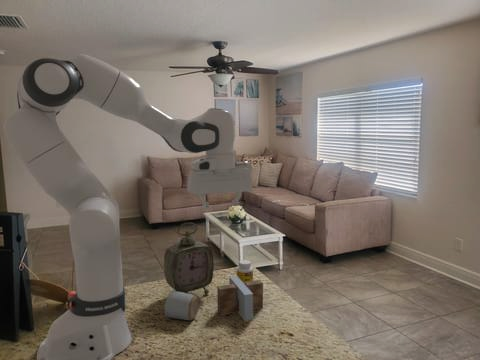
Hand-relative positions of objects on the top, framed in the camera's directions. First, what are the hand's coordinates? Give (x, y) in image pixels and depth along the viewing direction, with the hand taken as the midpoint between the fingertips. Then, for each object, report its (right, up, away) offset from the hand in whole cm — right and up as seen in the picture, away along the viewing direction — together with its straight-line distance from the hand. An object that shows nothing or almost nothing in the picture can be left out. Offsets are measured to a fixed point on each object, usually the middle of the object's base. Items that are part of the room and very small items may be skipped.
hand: (220, 207), depth 118 cm
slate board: (+6, -32, -1) cm, 32 cm away
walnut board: (+6, -32, -1) cm, 32 cm away
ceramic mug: (-11, -32, -4) cm, 34 cm away
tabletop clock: (-11, -30, +9) cm, 34 cm away
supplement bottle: (+8, -30, +13) cm, 33 cm away
